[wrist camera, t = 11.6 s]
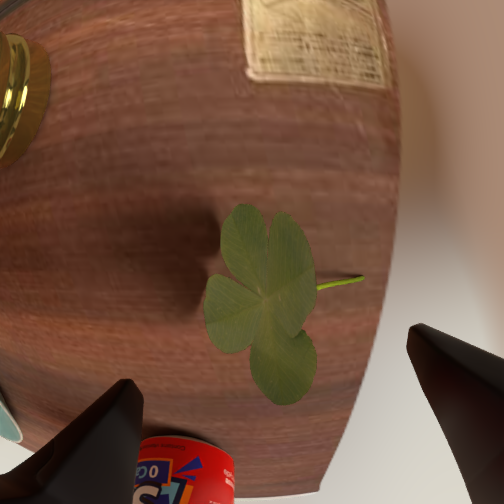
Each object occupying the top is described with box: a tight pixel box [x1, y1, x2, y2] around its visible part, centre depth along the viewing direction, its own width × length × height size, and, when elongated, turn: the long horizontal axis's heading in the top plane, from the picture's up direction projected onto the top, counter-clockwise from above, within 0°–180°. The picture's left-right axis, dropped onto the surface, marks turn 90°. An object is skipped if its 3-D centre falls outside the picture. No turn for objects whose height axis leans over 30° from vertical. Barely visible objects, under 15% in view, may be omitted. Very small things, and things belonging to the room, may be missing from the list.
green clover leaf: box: [203, 204, 364, 405], centre depth 11 cm, size 7×8×6 cm
